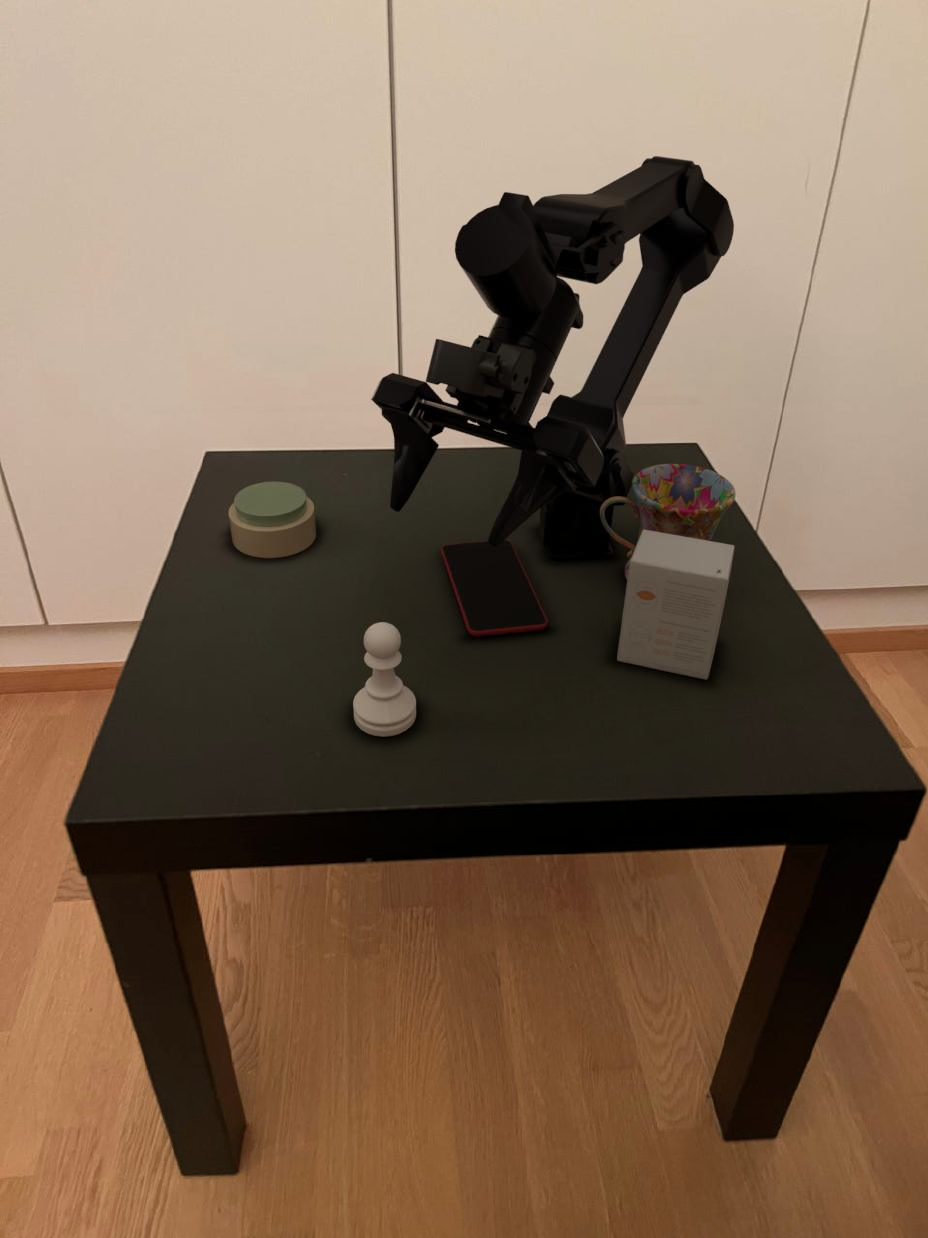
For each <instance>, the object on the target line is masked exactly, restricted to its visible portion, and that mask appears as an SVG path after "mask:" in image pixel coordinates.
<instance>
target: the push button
mask: <svg viewBox="0 0 928 1238" xmlns="http://www.w3.org/2000/svg"><path fill="white" fill-rule="evenodd" d="M315 511H316V510H315V505H314V502H313V501H312V499H310V497H308V496H307V494H306V491H305V490H304V489H303V488H302V487H300V486H298V485H296V484H293V483H290V482H285V481H264V482H259V483H254V484H251V485H249V486H246V487H244V488H242V489H241V490H239V491H238V492H237V493H236V494H235V496H234V499H233V503H232V504H231V505H230V507H229V509H228V521H229V527H230V534H231V541H232V544H233V546H234V548H236V549H237V550H238V551H239V552H240V553H242V554H244V555H247V556H250V557H253V558H259V559H260V558H261V559H279V558H284V557H285V558H286V557H290V556H293V555H296V554H299V553H301V552H303V551H304V550H306V549H308V548H309V547H311V545H312V544H313V543H314V542H315V540H316V538H317V523H316V513H315Z"/></svg>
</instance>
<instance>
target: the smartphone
mask: <svg viewBox="0 0 928 1238" xmlns="http://www.w3.org/2000/svg"><path fill="white" fill-rule="evenodd" d="M440 553H441V557H442V559H443V562H444V565H445V568H446V570H447V571H446V572H447V574H448V577H449V579H450V584H451V586H452V588H453V591H454V595H455V597H456V600H457V603H458V606H459V609H460V612H461V615H462V618H463V621H464V624H465V627H466V630H467V632H468V634H469V635H471V636H473V637H477V638H478V637H488V636H489V637H490V636H499V635H507V634H517V633H527V632H535V631H536V632H537V631H542V630H544V629H545V628H546V627H547V626H548V618H547V616H546V614H545V612H544V610H543V608H542V605H541V603H540V600H539V598H538V596H537V594H536V592H535V590H534V588H533V586H532V583H531V581H530V579H529V577H528V574H527V572H526V571H525V568H524V566H523V563H522V561H521V560H520V557H519V555H518V553H517V551H516V549H515V546H514V544H513V542H512V541H510V540H507V539H505V540H504V541H502V542H501V543H500V544H499V545H498V546H497V547H494V546H491V545H490V544H489V543H488V540H482V541H472V542H470V541H469V542H460V543H449V544H444V545H443V546H442V547H441V548H440Z"/></svg>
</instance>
